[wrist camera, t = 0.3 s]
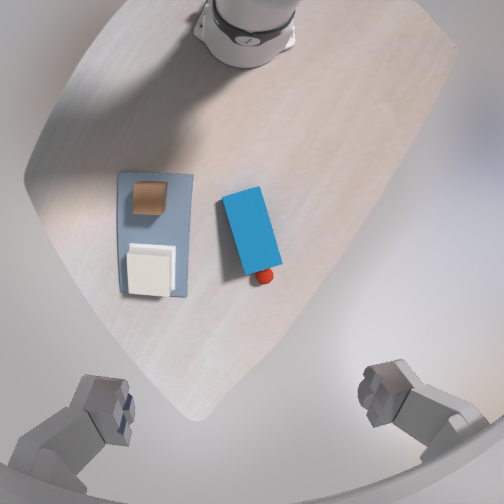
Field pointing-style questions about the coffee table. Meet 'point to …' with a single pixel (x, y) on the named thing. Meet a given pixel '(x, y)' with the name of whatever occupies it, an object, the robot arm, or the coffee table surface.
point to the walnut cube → (149, 197)
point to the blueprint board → (156, 225)
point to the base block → (149, 271)
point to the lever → (253, 233)
